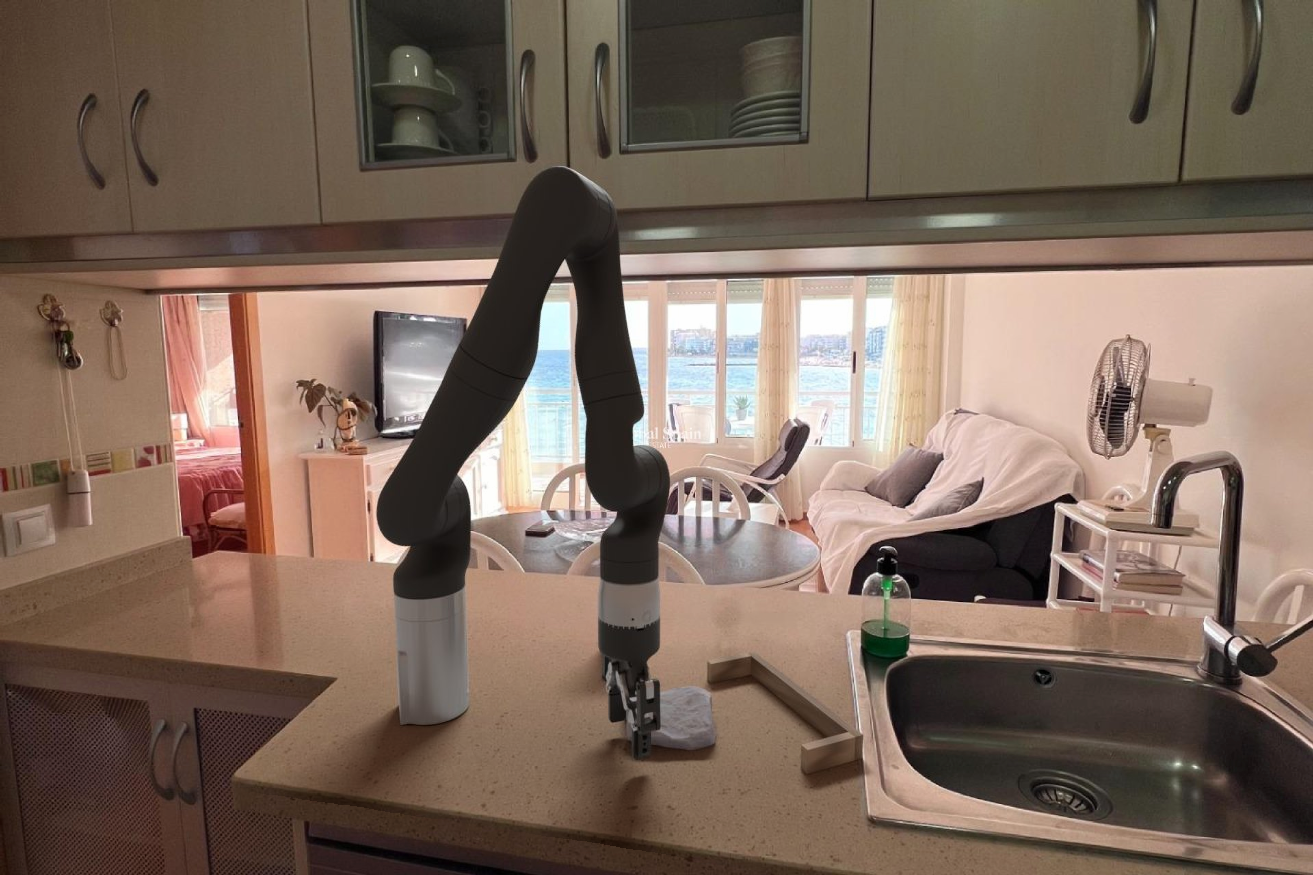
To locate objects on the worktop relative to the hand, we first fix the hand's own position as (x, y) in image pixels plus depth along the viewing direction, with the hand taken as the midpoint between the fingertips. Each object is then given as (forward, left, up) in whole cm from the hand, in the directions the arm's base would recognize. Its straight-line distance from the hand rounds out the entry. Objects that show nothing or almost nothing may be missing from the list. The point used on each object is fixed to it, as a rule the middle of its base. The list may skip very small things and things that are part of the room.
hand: (628, 737), depth 83 cm
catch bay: (+21, 0, -2) cm, 21 cm away
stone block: (+7, +2, -2) cm, 7 cm away
